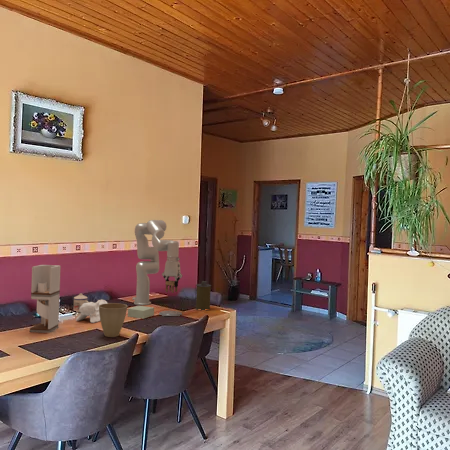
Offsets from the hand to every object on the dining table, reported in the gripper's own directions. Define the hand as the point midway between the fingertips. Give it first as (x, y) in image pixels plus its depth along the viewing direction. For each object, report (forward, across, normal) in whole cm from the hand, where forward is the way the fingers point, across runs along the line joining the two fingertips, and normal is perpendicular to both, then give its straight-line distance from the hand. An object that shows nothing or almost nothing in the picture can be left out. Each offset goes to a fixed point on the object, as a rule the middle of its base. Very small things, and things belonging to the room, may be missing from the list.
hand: (171, 286), depth 284 cm
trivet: (+19, 0, 0) cm, 19 cm away
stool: (+4, 0, 0) cm, 4 cm away
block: (+19, +14, +14) cm, 27 cm away
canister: (+19, -10, -28) cm, 35 cm away
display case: (+19, +38, +71) cm, 83 cm away
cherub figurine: (+19, +33, +38) cm, 54 cm away
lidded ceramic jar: (+19, +54, +24) cm, 62 cm away
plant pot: (+19, 0, +61) cm, 64 cm away
